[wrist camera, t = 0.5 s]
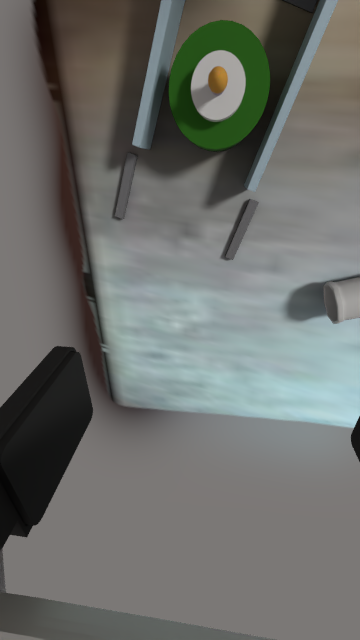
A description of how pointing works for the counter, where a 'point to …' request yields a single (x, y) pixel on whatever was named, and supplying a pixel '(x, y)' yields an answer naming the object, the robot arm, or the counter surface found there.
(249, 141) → the counter surface
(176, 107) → the candle
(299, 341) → the counter surface
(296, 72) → the pale blue tray
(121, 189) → the strips
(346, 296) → the tube
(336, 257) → the counter surface
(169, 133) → the counter surface
